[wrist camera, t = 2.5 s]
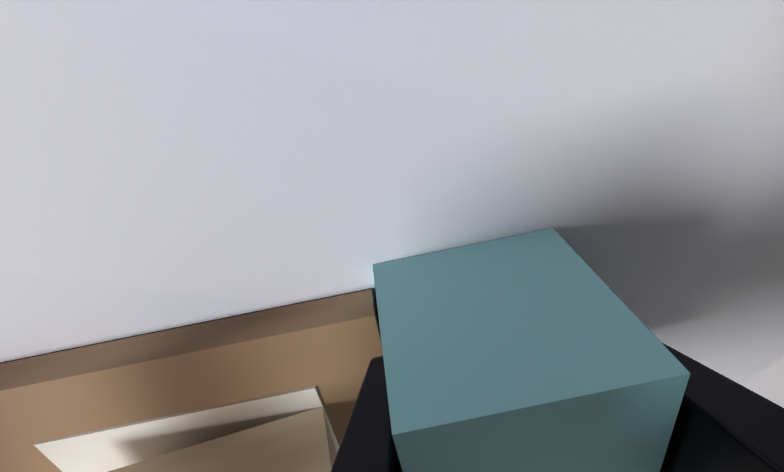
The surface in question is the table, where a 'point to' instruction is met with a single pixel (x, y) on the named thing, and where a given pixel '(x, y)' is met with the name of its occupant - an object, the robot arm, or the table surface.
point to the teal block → (520, 363)
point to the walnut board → (185, 386)
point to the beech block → (256, 449)
